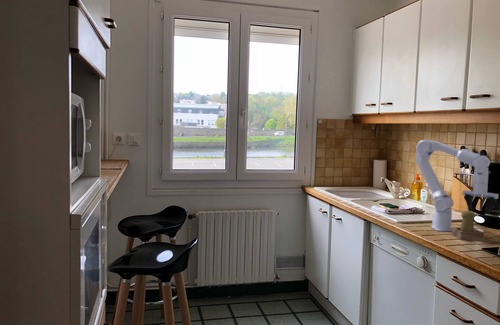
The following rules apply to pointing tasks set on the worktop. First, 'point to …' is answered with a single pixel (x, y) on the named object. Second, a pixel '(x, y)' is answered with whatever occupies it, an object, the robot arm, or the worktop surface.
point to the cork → (467, 221)
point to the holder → (468, 234)
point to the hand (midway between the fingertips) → (479, 212)
